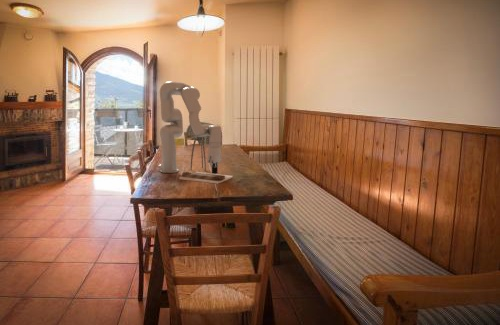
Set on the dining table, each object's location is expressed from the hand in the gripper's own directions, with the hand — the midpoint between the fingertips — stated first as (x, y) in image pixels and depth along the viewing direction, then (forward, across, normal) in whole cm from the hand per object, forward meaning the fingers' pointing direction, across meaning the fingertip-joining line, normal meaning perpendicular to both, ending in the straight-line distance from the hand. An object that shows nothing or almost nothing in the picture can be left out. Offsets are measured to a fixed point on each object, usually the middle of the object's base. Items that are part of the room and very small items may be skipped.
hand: (214, 173), depth 238 cm
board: (+2, +8, -1) cm, 8 cm away
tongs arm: (+1, +11, +1) cm, 11 cm away
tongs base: (+1, +14, -1) cm, 14 cm away
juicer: (+2, -16, -21) cm, 26 cm away
